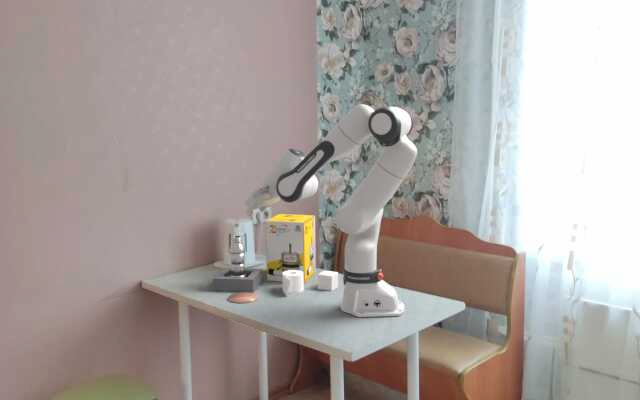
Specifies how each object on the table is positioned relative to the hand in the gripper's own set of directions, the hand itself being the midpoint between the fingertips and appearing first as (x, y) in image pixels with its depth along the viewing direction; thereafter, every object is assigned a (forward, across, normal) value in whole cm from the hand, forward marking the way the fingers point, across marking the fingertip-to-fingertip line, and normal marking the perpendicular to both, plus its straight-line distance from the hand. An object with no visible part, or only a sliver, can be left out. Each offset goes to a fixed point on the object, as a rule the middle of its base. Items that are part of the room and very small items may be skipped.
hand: (254, 212), depth 214 cm
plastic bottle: (+31, +4, -11) cm, 34 cm away
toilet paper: (+17, +6, -29) cm, 34 cm away
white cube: (+10, +16, -38) cm, 42 cm away
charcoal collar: (+31, +4, -11) cm, 33 cm away
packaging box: (+23, +24, -22) cm, 40 cm away
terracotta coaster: (+25, -8, -19) cm, 32 cm away
